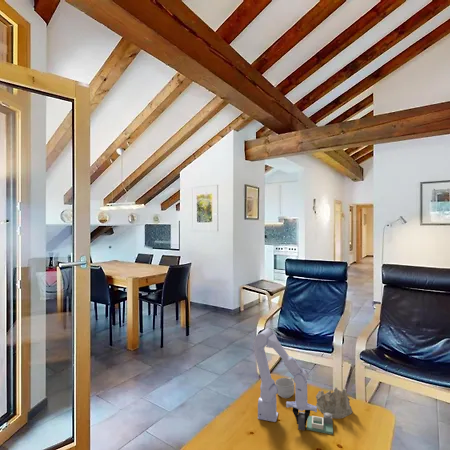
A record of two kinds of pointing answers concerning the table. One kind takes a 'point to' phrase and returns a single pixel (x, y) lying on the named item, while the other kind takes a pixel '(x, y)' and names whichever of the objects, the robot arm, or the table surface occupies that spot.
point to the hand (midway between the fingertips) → (301, 423)
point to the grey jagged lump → (334, 403)
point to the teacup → (285, 387)
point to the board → (320, 423)
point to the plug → (301, 421)
